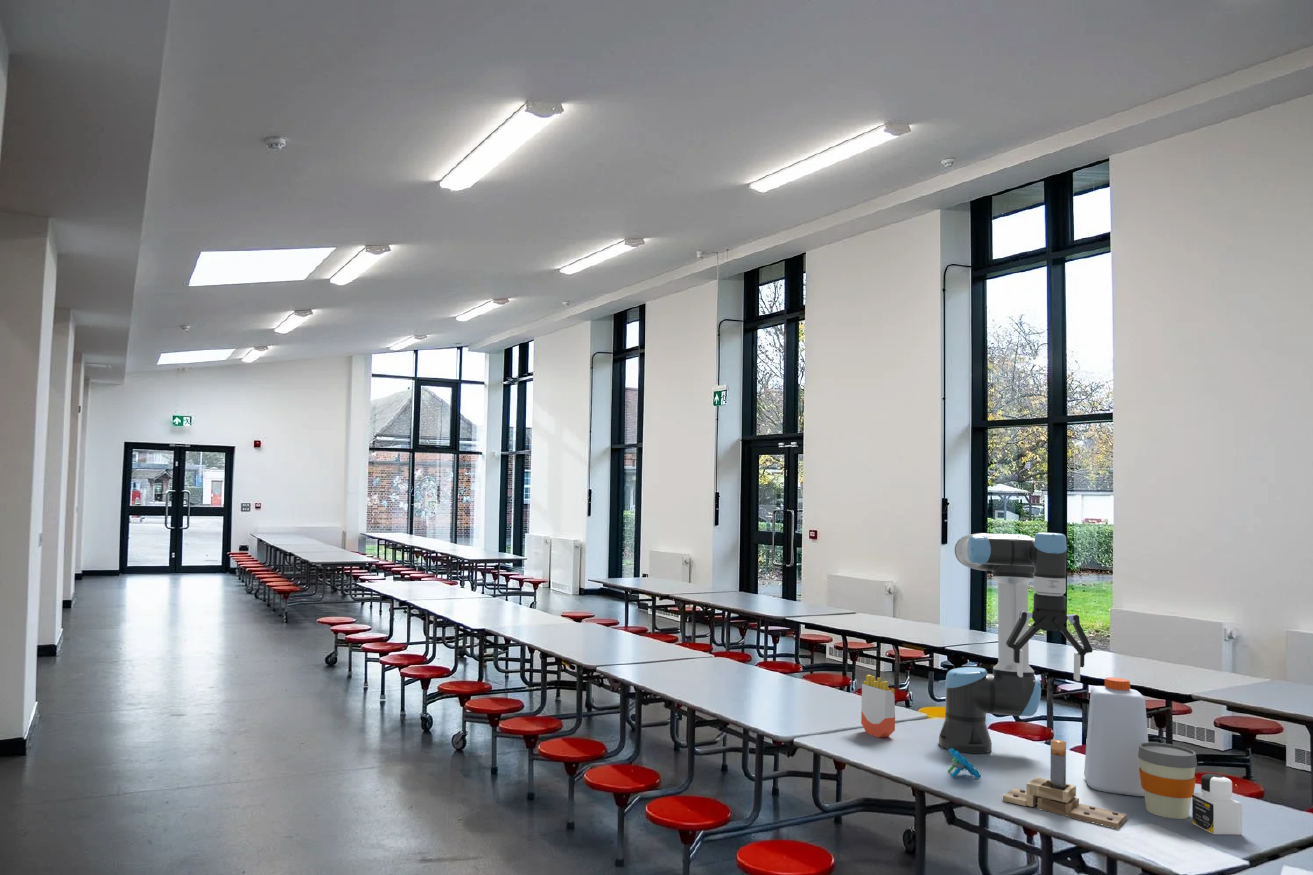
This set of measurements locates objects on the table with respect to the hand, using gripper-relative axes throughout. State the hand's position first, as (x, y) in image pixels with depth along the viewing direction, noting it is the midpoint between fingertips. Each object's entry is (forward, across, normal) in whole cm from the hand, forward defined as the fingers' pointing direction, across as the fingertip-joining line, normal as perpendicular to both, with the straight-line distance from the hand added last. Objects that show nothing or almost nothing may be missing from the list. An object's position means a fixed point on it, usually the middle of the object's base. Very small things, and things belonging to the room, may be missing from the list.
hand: (1048, 678), depth 228 cm
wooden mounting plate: (+29, +5, -12) cm, 32 cm away
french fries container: (+31, -38, +50) cm, 70 cm away
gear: (+30, -18, +11) cm, 37 cm away
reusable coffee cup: (+30, +27, -4) cm, 40 cm away
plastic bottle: (+30, +21, +14) cm, 39 cm away
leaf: (+29, -4, -8) cm, 30 cm away
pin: (+29, 0, -10) cm, 31 cm away
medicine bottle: (+29, +34, -14) cm, 47 cm away
